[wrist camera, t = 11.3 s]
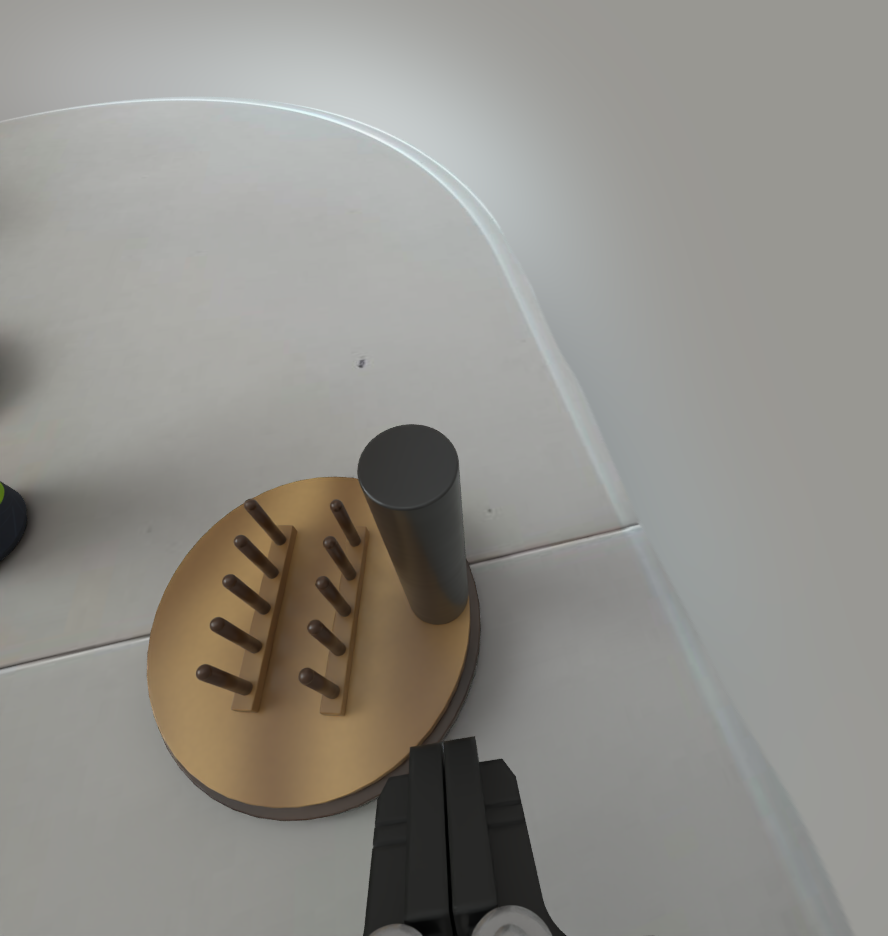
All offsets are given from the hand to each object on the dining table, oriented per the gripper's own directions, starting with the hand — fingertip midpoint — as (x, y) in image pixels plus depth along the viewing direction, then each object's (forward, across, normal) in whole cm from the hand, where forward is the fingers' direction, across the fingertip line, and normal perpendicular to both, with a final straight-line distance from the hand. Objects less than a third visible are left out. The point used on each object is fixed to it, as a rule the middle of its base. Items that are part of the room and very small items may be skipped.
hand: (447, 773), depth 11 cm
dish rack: (+14, +7, +3) cm, 16 cm away
